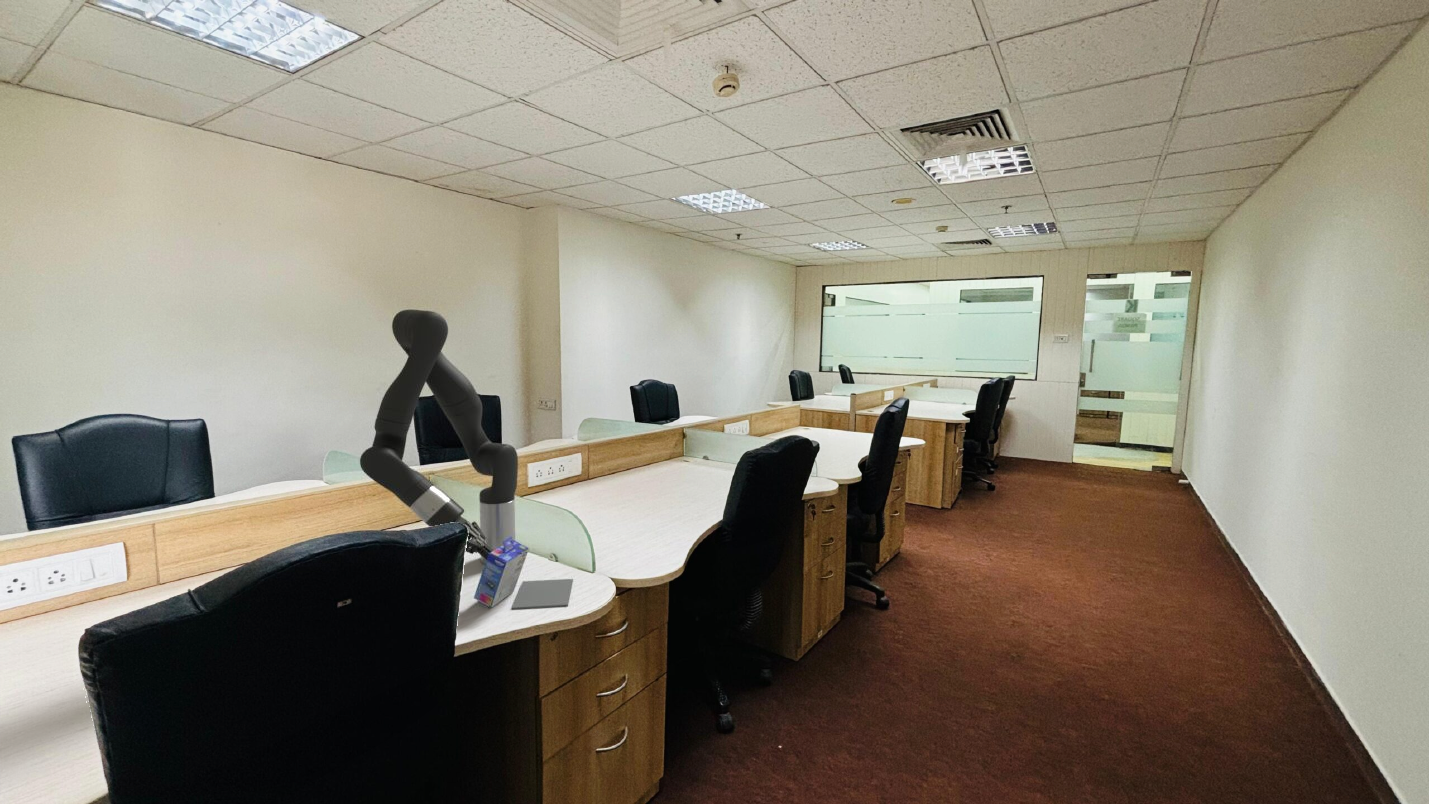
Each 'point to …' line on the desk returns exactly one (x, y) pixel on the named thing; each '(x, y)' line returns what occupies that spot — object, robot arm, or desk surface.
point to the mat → (543, 594)
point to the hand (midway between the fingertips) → (493, 558)
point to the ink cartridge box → (501, 572)
